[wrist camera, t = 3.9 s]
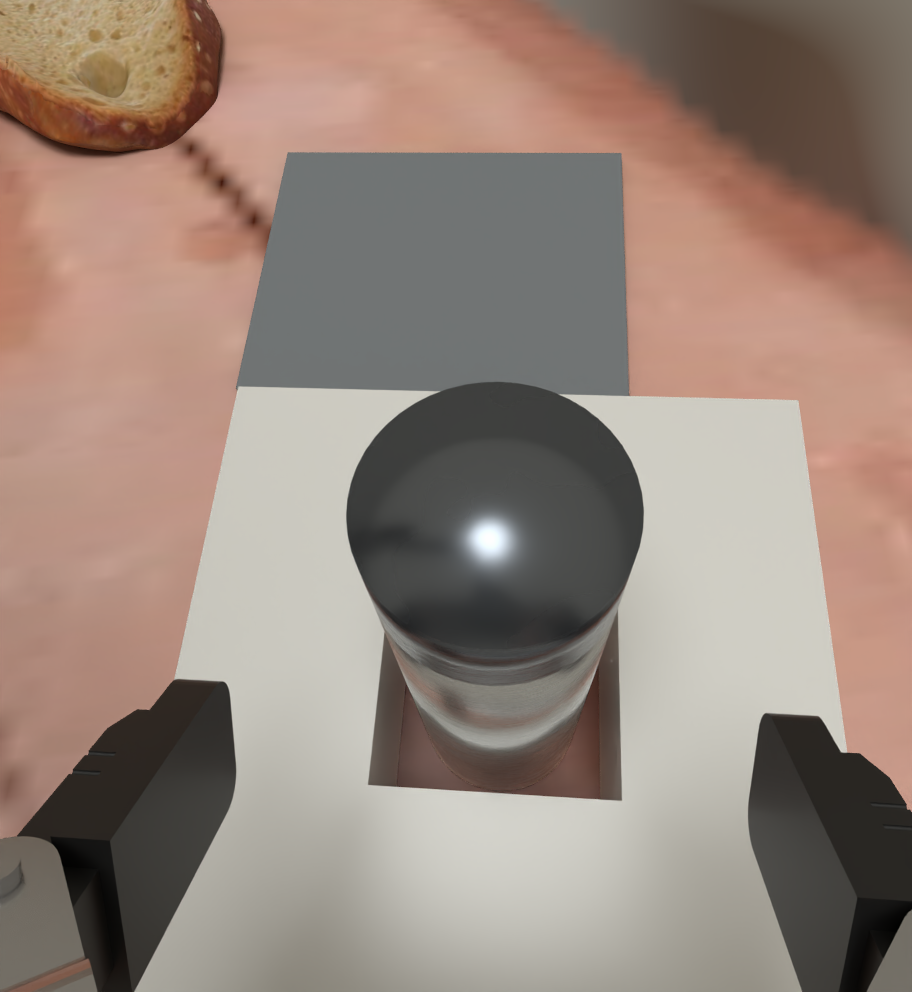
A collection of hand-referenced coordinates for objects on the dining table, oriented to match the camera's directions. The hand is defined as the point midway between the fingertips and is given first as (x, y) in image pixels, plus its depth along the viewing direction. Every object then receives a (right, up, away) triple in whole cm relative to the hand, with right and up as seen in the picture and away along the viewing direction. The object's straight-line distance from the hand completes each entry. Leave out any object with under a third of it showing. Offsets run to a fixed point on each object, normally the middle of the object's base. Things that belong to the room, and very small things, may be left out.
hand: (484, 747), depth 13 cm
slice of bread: (-20, +26, +29) cm, 44 cm away
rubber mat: (-1, +13, +20) cm, 24 cm away
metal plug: (+1, -3, +12) cm, 13 cm away
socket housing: (+1, -3, +12) cm, 13 cm away
